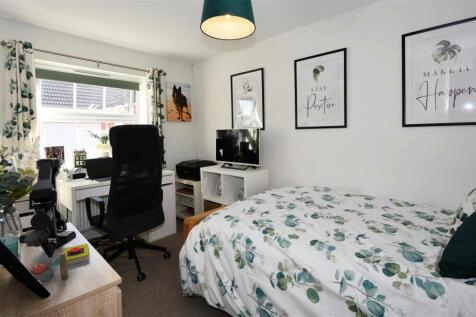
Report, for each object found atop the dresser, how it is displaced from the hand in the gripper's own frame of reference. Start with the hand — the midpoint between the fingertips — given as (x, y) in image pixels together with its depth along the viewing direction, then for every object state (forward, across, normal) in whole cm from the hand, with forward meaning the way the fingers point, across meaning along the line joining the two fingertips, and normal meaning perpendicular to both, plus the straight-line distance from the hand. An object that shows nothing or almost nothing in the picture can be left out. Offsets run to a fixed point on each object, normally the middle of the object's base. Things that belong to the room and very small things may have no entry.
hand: (50, 257), depth 102 cm
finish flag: (+1, +13, -13) cm, 18 cm away
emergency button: (+2, +8, +3) cm, 9 cm away
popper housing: (+1, +6, -12) cm, 14 cm away
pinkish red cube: (-1, +6, -12) cm, 14 cm away
